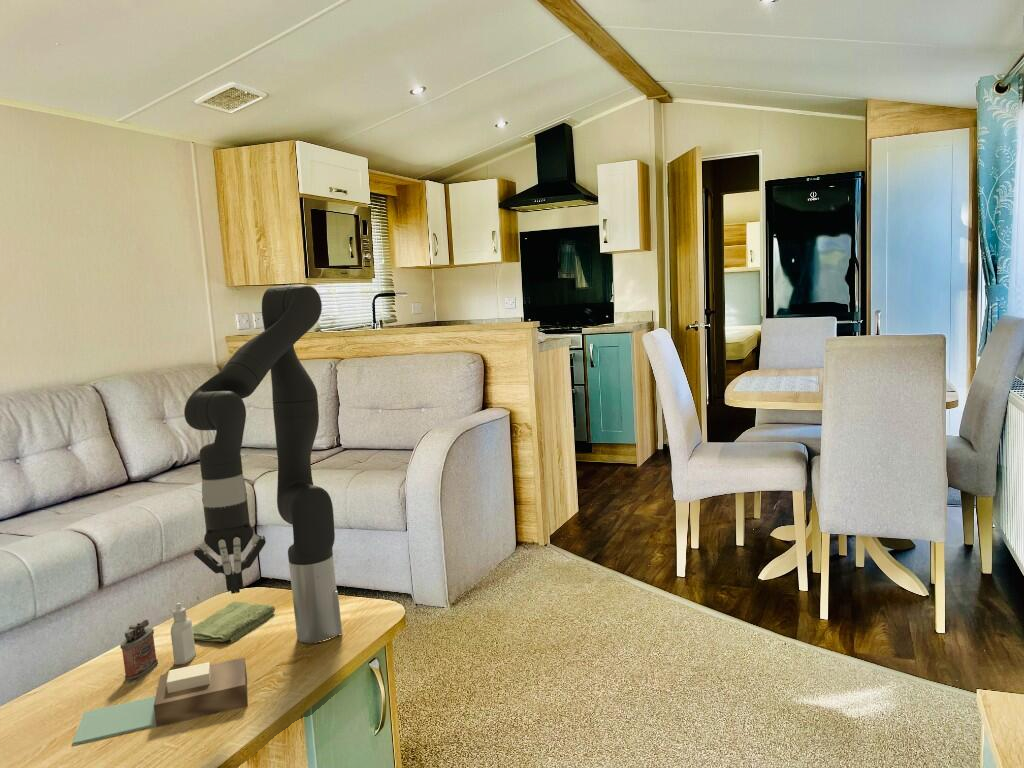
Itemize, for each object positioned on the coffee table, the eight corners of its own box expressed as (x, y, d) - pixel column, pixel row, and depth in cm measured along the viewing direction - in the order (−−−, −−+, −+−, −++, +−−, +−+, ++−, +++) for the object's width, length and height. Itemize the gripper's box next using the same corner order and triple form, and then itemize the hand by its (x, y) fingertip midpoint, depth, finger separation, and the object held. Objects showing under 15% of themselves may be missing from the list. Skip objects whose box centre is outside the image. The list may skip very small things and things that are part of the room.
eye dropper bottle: (203, 654, 160) (196, 599, 159) (180, 666, 155) (173, 610, 154) (189, 651, 162) (183, 597, 161) (166, 663, 157) (159, 607, 156)
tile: (211, 672, 143) (209, 661, 143) (210, 683, 138) (208, 673, 138) (170, 680, 141) (169, 670, 140) (168, 693, 136) (166, 682, 136)
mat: (162, 696, 143) (162, 694, 143) (156, 725, 133) (156, 723, 133) (84, 713, 139) (84, 711, 139) (72, 745, 129) (72, 742, 128)
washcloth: (180, 643, 168) (178, 628, 168) (235, 610, 185) (234, 598, 184) (228, 648, 163) (226, 633, 163) (280, 614, 180) (279, 601, 180)
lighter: (135, 682, 150) (129, 633, 149) (120, 681, 151) (114, 633, 150) (162, 662, 158) (156, 616, 157) (147, 662, 158) (141, 616, 157)
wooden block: (247, 676, 148) (244, 657, 148) (247, 705, 137) (245, 684, 137) (162, 695, 144) (160, 675, 143) (156, 727, 132) (153, 705, 132)
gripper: (262, 490, 145) (272, 579, 147) (187, 501, 141) (198, 592, 142) (263, 499, 138) (273, 591, 140) (184, 510, 133) (195, 606, 135)
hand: (235, 591), depth 141 cm, fingers closed
